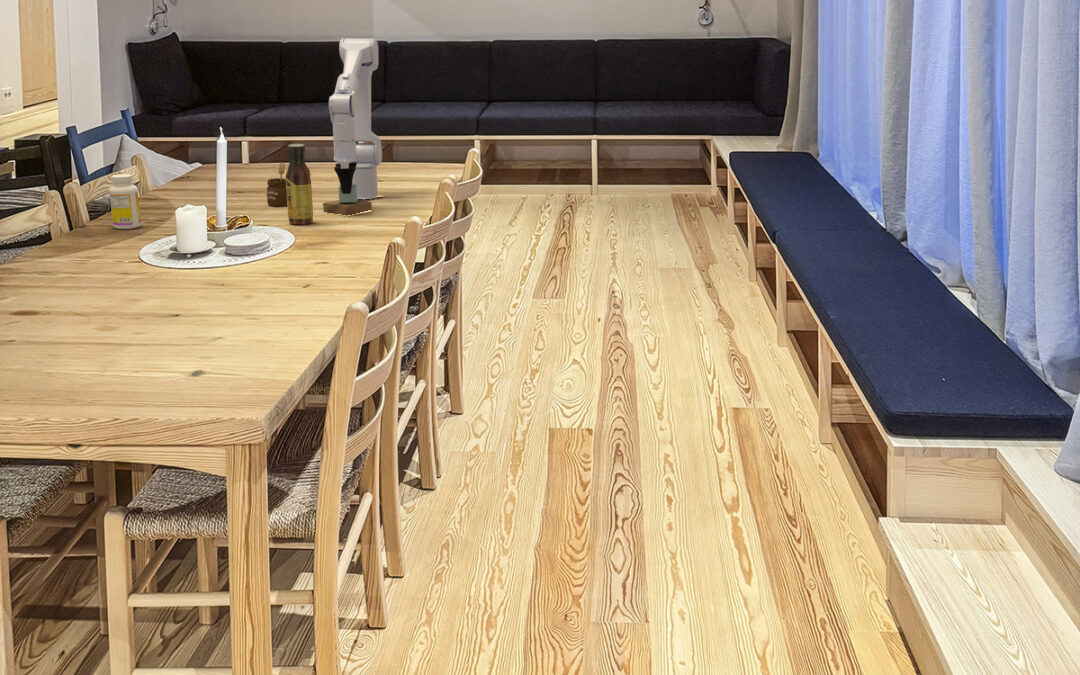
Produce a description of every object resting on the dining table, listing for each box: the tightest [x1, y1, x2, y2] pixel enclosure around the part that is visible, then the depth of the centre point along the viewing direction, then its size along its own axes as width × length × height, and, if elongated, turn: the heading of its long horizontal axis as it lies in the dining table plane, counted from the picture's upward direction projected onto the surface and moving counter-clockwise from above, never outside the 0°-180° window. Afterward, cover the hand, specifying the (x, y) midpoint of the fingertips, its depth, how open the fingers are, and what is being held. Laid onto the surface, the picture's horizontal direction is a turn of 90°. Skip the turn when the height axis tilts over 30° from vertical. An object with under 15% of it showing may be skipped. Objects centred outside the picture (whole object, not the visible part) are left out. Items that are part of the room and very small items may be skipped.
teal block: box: [338, 184, 358, 202], centre depth 295 cm, size 4×4×4 cm
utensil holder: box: [266, 162, 287, 208], centre depth 303 cm, size 6×6×12 cm
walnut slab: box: [322, 199, 373, 217], centre depth 296 cm, size 9×9×3 cm
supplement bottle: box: [108, 173, 142, 230], centre depth 274 cm, size 7×7×13 cm
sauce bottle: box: [285, 143, 314, 226], centre depth 279 cm, size 6×6×20 cm
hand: (346, 191), depth 295 cm, fingers open, 5 cm apart
